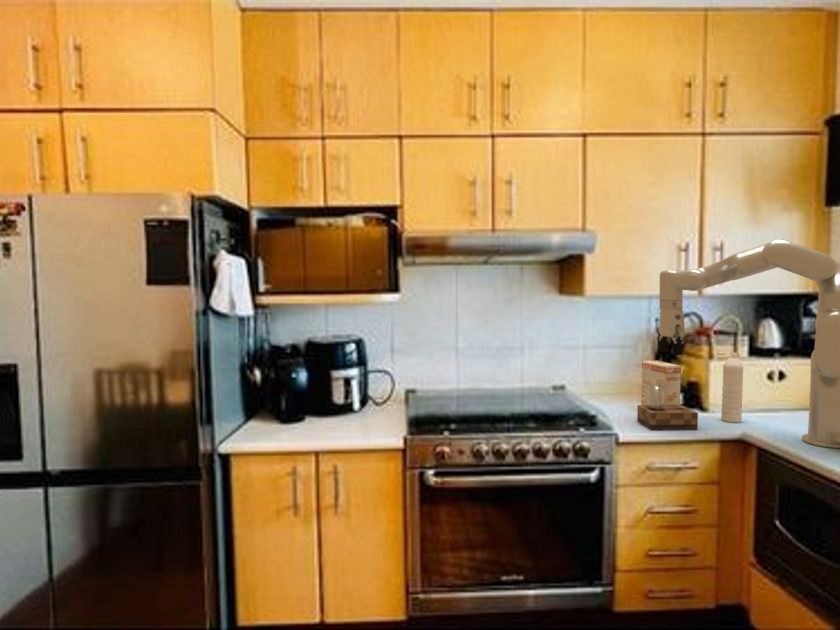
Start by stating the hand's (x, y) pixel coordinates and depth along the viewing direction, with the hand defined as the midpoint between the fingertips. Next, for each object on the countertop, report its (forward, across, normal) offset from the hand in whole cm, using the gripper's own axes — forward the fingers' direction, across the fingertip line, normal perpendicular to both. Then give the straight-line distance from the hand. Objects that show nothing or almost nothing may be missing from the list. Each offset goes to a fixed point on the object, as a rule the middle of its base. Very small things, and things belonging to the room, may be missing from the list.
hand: (670, 353), depth 205 cm
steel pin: (+23, -3, +7) cm, 24 cm away
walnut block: (+25, -3, +3) cm, 26 cm away
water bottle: (+26, +3, -23) cm, 35 cm away
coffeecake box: (+26, +16, -4) cm, 30 cm away
